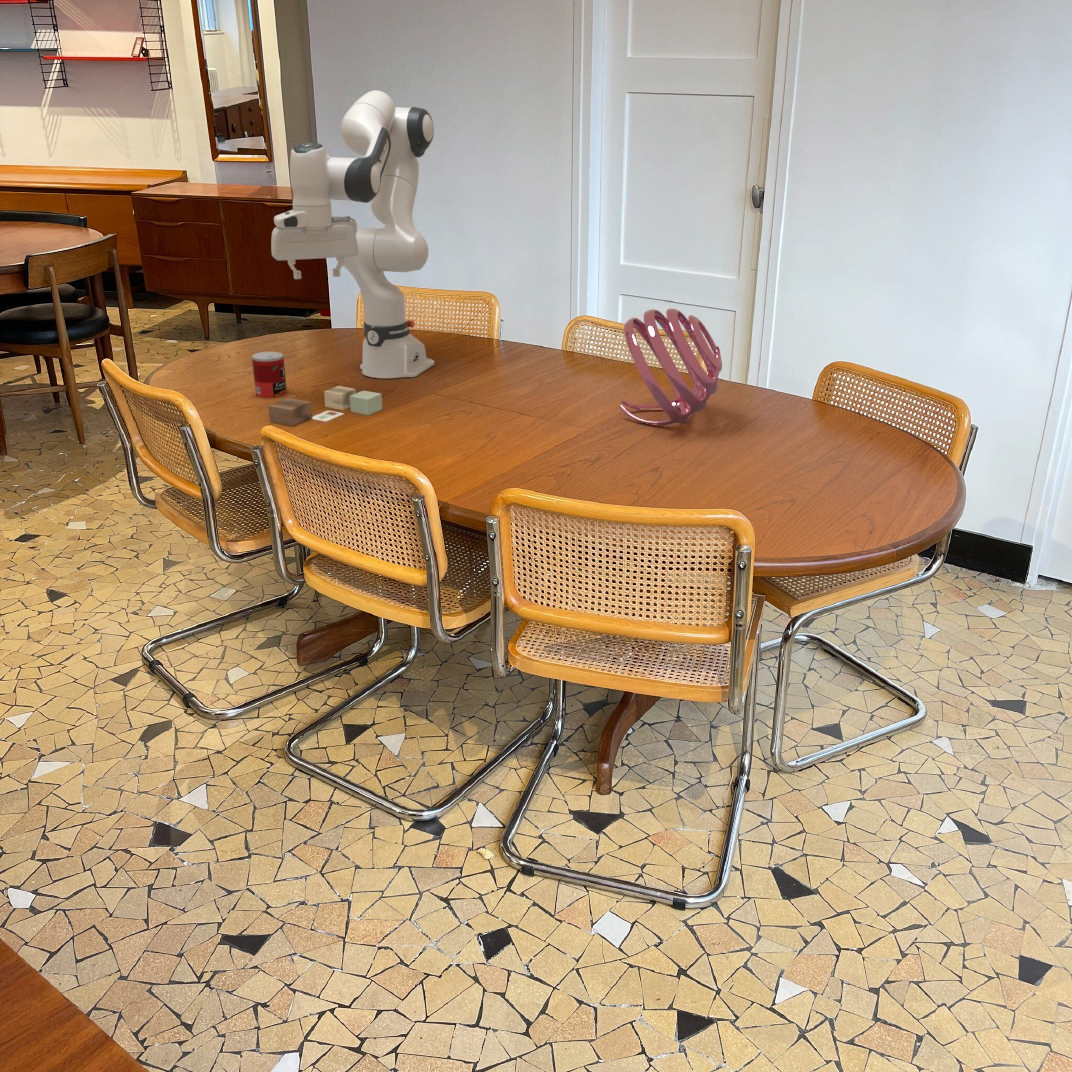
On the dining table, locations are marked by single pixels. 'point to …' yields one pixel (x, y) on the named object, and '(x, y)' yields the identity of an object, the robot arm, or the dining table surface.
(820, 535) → the dining table surface
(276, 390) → the canned food
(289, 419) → the walnut base
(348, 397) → the birch cube
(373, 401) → the sage cube
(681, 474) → the dining table surface
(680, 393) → the spiral basket
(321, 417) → the board
